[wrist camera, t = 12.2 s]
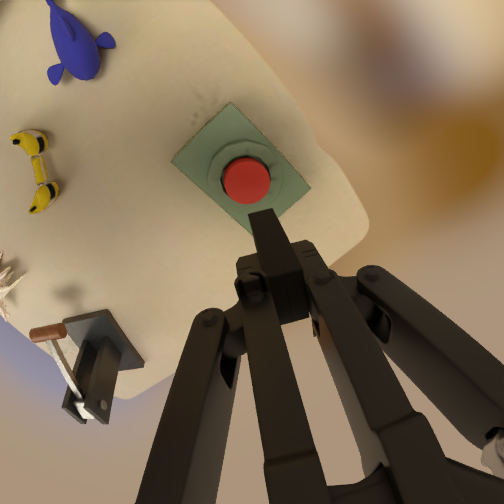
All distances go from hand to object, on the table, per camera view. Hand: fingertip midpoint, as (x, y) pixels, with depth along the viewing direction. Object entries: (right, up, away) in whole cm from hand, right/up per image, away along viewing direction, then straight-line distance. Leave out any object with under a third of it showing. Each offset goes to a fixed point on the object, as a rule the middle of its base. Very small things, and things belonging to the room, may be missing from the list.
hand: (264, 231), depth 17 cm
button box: (-2, +7, +12) cm, 14 cm away
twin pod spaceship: (-25, +9, +8) cm, 28 cm away
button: (-1, +6, +9) cm, 11 cm away
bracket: (-24, -15, +22) cm, 36 cm away
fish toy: (-20, +22, +1) cm, 29 cm away
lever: (-24, -16, +12) cm, 31 cm away
